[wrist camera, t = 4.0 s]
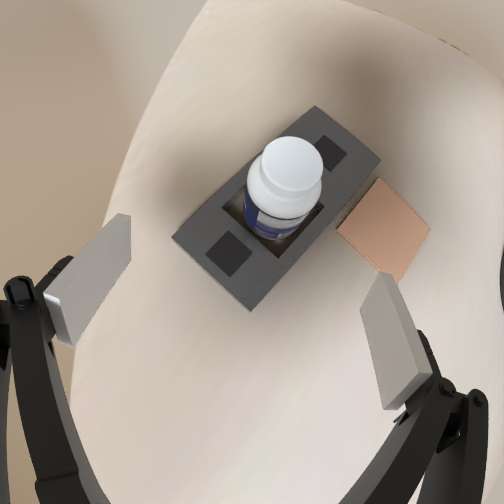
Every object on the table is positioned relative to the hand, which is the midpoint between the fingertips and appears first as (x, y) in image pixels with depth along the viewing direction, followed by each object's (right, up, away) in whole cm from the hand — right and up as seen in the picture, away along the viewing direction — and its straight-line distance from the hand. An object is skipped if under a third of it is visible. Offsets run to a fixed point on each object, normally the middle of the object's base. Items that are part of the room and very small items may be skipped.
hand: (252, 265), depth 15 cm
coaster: (+14, +3, +13) cm, 19 cm away
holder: (+3, +6, +13) cm, 15 cm away
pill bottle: (+2, +4, +13) cm, 14 cm away
